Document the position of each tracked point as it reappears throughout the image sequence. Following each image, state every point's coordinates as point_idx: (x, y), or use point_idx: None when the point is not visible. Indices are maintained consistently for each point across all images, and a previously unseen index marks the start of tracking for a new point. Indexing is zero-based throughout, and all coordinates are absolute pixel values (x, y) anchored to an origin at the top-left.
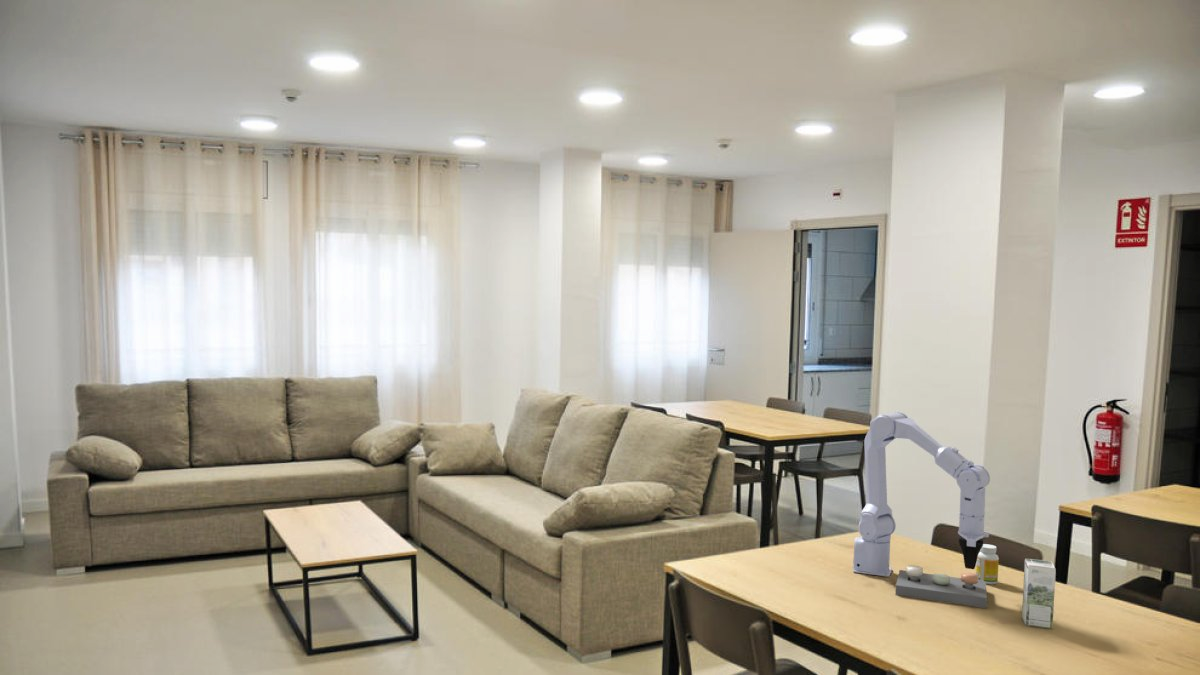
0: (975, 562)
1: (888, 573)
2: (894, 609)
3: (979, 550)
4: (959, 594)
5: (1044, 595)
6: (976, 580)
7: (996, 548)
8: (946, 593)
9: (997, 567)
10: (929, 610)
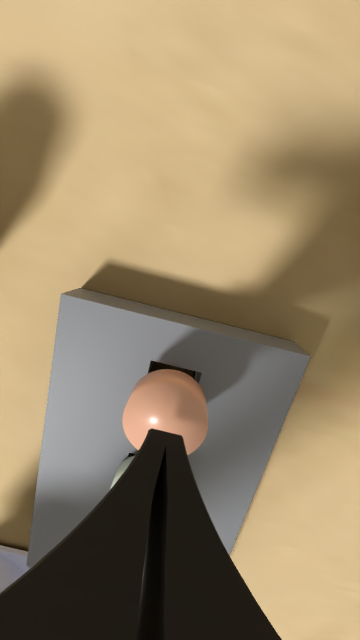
0: (190, 471)
1: (16, 558)
2: (333, 591)
3: (259, 610)
4: (272, 446)
5: None
6: (197, 390)
7: None
8: (257, 481)
9: None
10: (333, 515)
